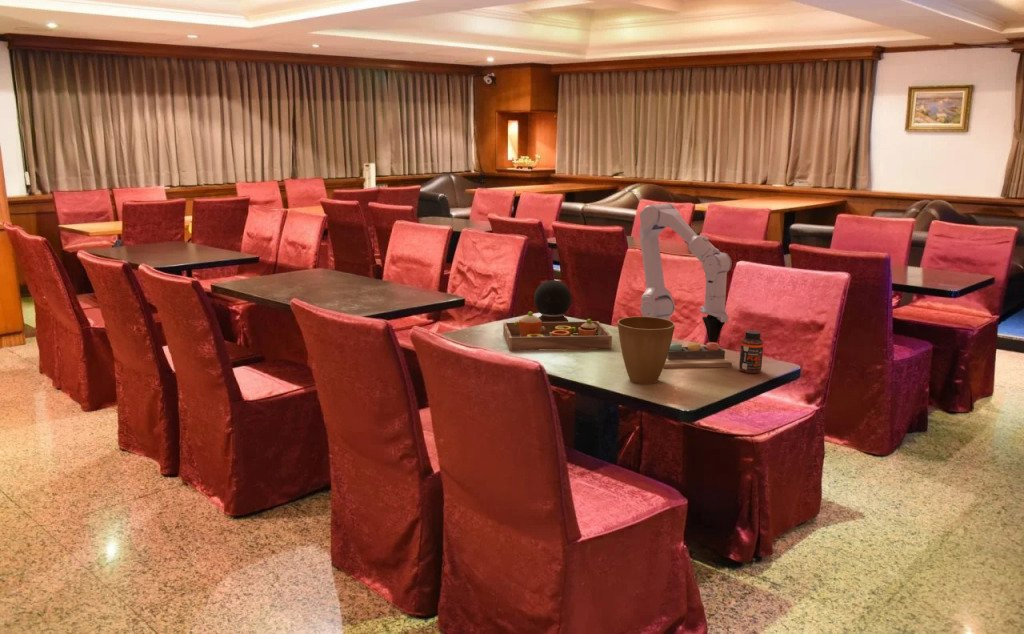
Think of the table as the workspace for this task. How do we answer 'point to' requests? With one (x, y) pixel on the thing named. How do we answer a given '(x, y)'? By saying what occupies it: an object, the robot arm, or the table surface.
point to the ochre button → (693, 347)
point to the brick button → (712, 346)
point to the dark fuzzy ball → (552, 301)
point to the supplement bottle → (751, 352)
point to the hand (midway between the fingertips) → (712, 341)
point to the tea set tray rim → (557, 338)
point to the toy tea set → (532, 328)
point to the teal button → (675, 347)
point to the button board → (696, 358)
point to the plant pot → (645, 346)
